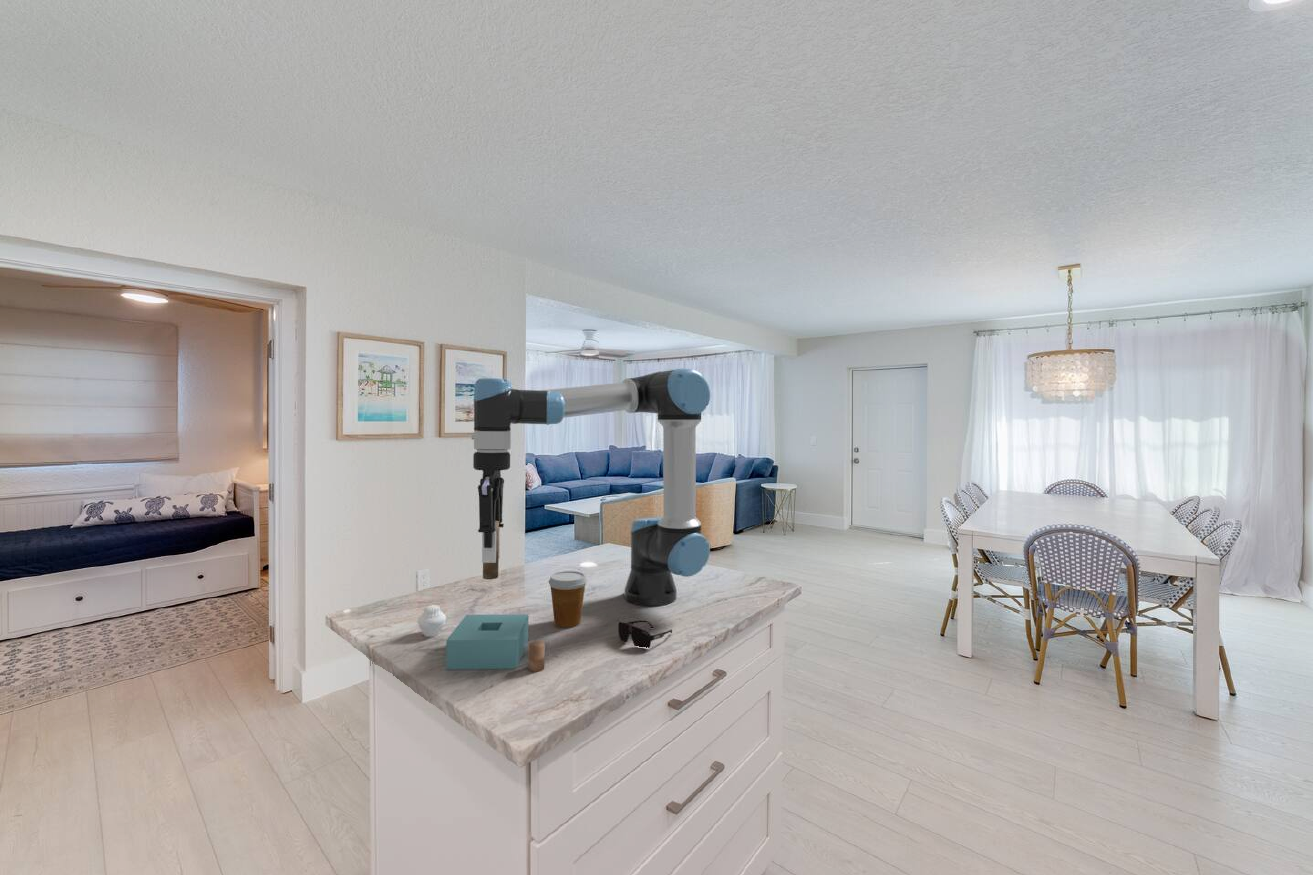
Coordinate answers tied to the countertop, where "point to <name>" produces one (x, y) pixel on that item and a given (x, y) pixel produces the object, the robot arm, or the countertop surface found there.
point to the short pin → (536, 656)
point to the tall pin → (492, 568)
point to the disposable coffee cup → (567, 597)
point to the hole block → (487, 642)
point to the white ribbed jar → (431, 621)
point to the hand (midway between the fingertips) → (490, 559)
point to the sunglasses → (637, 634)
